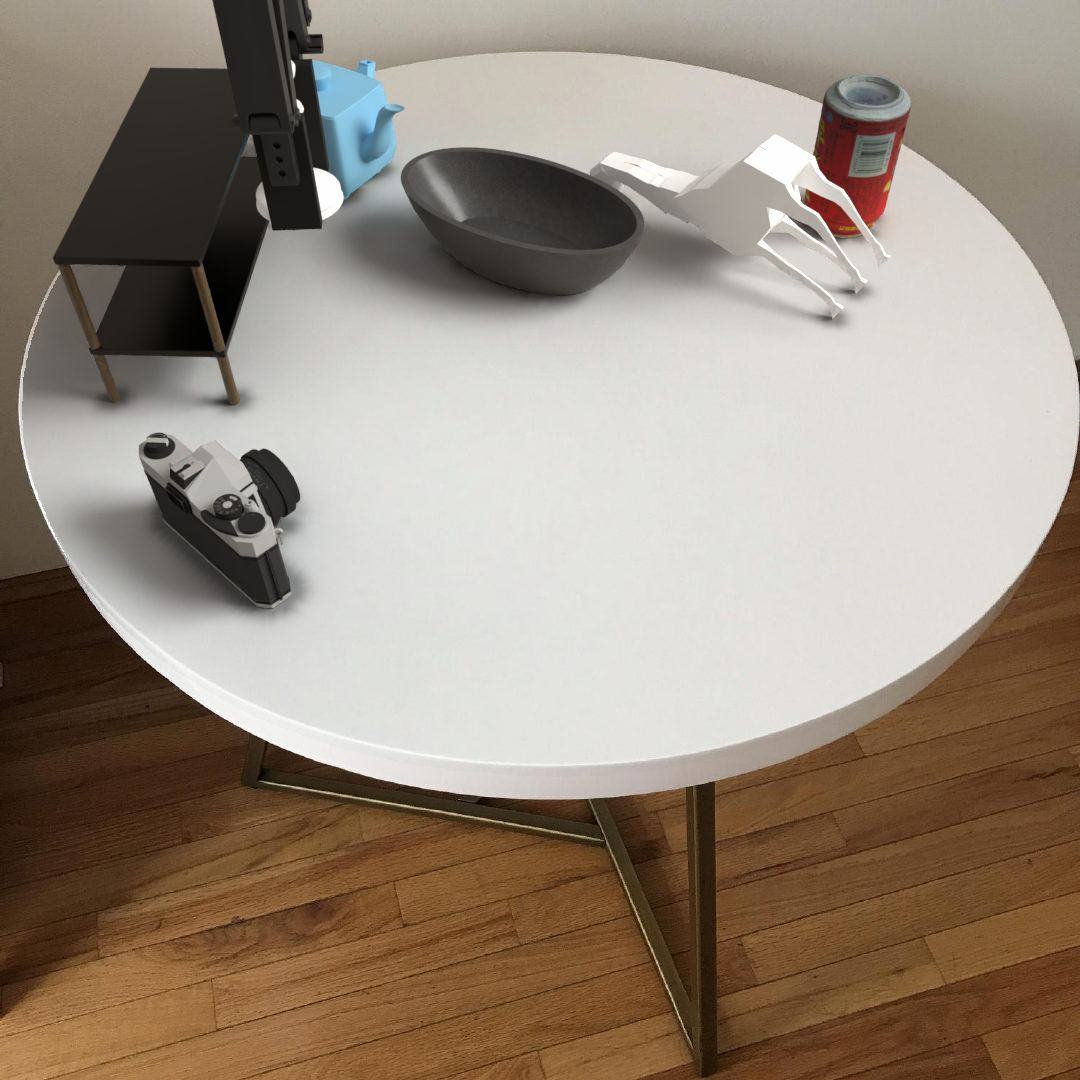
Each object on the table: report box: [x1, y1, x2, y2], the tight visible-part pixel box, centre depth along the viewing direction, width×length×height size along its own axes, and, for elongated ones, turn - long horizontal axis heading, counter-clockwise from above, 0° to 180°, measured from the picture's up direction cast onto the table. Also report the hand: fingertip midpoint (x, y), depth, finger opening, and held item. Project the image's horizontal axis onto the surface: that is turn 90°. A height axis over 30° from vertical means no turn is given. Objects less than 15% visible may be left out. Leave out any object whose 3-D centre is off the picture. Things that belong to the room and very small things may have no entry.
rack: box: [52, 67, 270, 406], centre depth 92 cm, size 26×10×13 cm, turn 178°
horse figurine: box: [588, 133, 892, 320], centre depth 97 cm, size 5×16×25 cm
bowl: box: [400, 146, 646, 296], centre depth 97 cm, size 12×22×6 cm, turn 60°
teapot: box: [312, 59, 405, 201], centre depth 105 cm, size 18×14×10 cm
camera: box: [138, 432, 301, 609], centre depth 77 cm, size 13×8×9 cm, turn 49°
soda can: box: [804, 74, 912, 239], centre depth 99 cm, size 7×7×12 cm
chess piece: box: [256, 60, 344, 222], centre depth 62 cm, size 5×5×10 cm
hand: (301, 196), depth 66 cm, fingers closed on chess piece, 5 cm apart
